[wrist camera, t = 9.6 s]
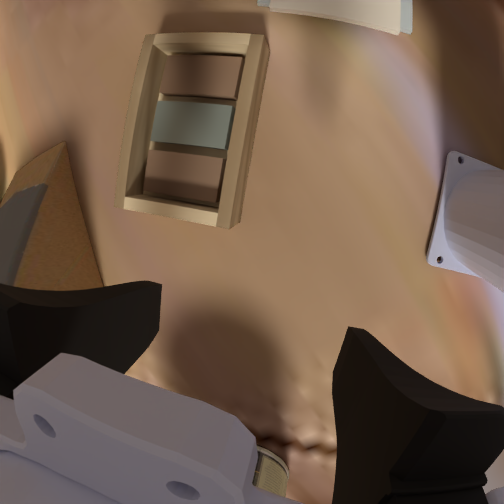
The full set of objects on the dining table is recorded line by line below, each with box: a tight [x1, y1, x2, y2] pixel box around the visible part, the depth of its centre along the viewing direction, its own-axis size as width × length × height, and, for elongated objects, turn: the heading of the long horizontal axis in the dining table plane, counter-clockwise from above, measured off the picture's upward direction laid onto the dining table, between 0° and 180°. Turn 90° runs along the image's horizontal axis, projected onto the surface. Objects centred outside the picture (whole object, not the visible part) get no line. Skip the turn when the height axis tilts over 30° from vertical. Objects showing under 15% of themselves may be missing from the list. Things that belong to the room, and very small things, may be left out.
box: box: [114, 32, 270, 229], centre depth 19 cm, size 8×12×3 cm, turn 171°
